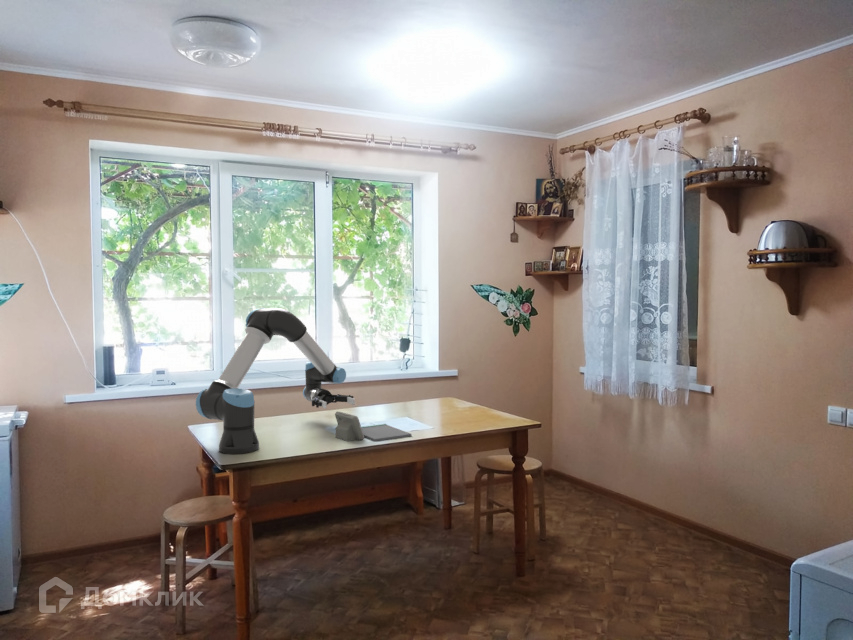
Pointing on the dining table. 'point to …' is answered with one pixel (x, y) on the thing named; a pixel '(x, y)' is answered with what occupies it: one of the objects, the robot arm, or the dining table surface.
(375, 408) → the dining table surface
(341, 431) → the digital clock
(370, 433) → the docking pad
